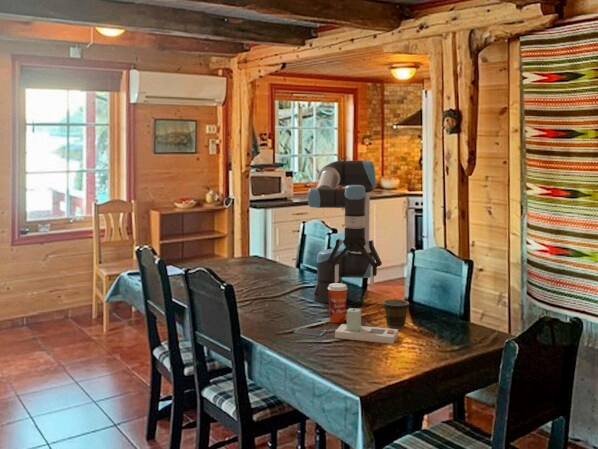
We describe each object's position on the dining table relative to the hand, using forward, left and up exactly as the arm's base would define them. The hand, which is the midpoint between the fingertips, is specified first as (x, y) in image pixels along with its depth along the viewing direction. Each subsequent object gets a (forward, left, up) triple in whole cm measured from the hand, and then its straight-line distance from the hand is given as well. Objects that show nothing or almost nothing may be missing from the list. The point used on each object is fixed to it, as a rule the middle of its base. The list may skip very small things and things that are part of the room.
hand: (354, 283), depth 236 cm
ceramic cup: (-15, +12, -21) cm, 28 cm away
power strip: (0, +5, -20) cm, 21 cm away
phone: (+2, -17, -21) cm, 27 cm away
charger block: (0, 0, -20) cm, 20 cm away
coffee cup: (-17, -11, -21) cm, 29 cm away
